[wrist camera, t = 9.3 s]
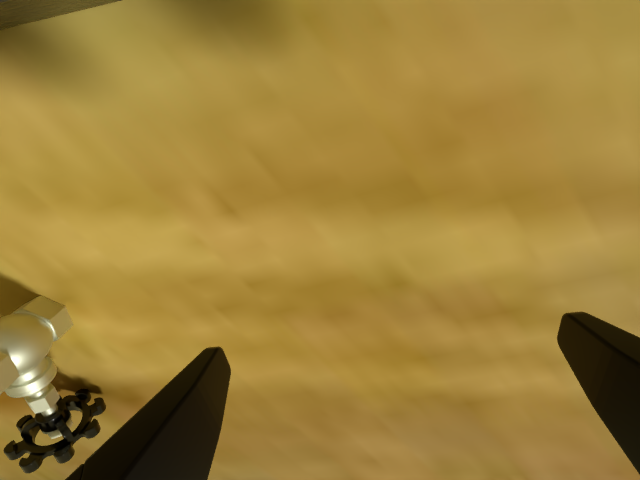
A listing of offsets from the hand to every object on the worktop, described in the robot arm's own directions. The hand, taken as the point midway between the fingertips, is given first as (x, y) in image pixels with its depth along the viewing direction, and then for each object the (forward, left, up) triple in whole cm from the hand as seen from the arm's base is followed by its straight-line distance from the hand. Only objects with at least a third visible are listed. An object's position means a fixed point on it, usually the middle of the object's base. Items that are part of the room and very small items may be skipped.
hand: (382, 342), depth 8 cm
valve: (+26, +10, -12) cm, 30 cm away
